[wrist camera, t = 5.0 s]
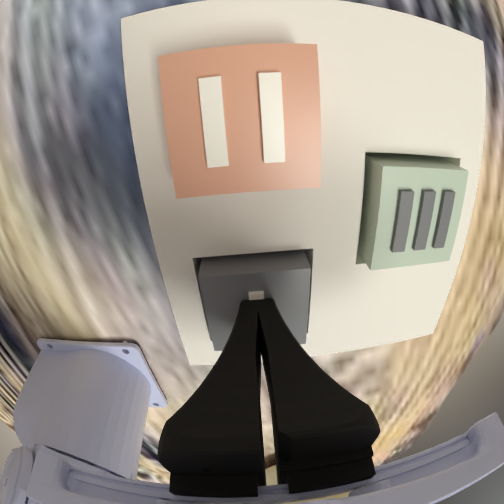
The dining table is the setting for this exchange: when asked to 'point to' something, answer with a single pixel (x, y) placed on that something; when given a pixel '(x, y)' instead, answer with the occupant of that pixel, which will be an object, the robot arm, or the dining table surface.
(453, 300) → the dining table surface
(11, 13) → the dining table surface
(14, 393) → the dining table surface
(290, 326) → the key one
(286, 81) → the key two
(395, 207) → the key three
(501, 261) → the dining table surface
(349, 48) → the key panel
